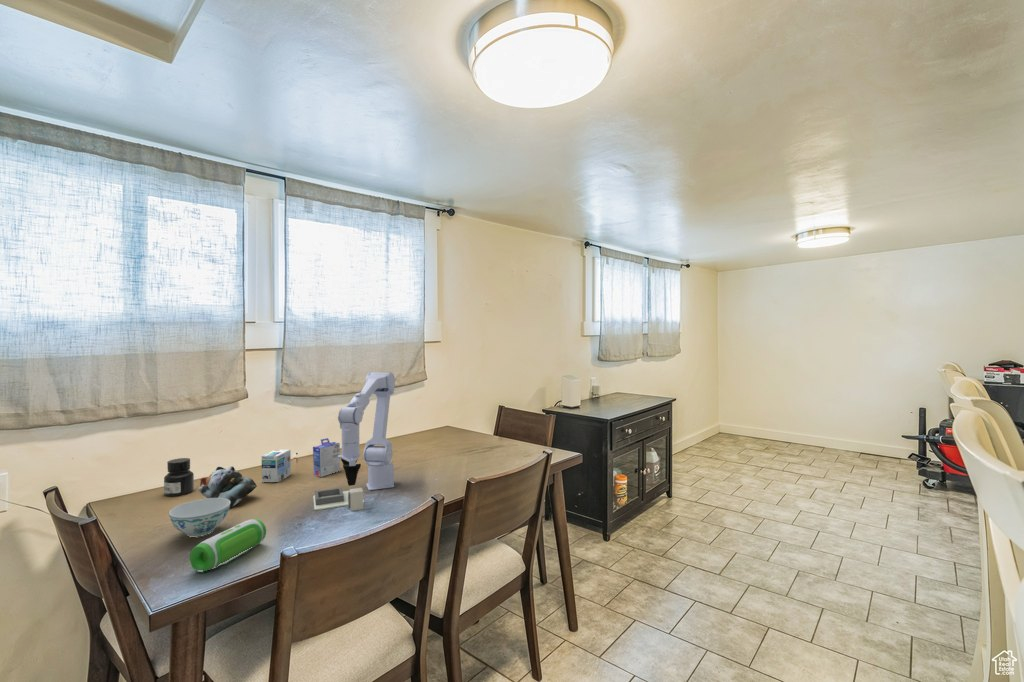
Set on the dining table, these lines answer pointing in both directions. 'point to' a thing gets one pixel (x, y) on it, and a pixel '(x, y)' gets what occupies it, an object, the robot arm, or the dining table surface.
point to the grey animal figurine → (226, 485)
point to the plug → (355, 499)
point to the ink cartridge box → (326, 458)
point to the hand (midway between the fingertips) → (350, 481)
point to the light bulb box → (276, 465)
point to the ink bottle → (178, 477)
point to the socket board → (330, 499)
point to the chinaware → (199, 515)
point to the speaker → (227, 544)
